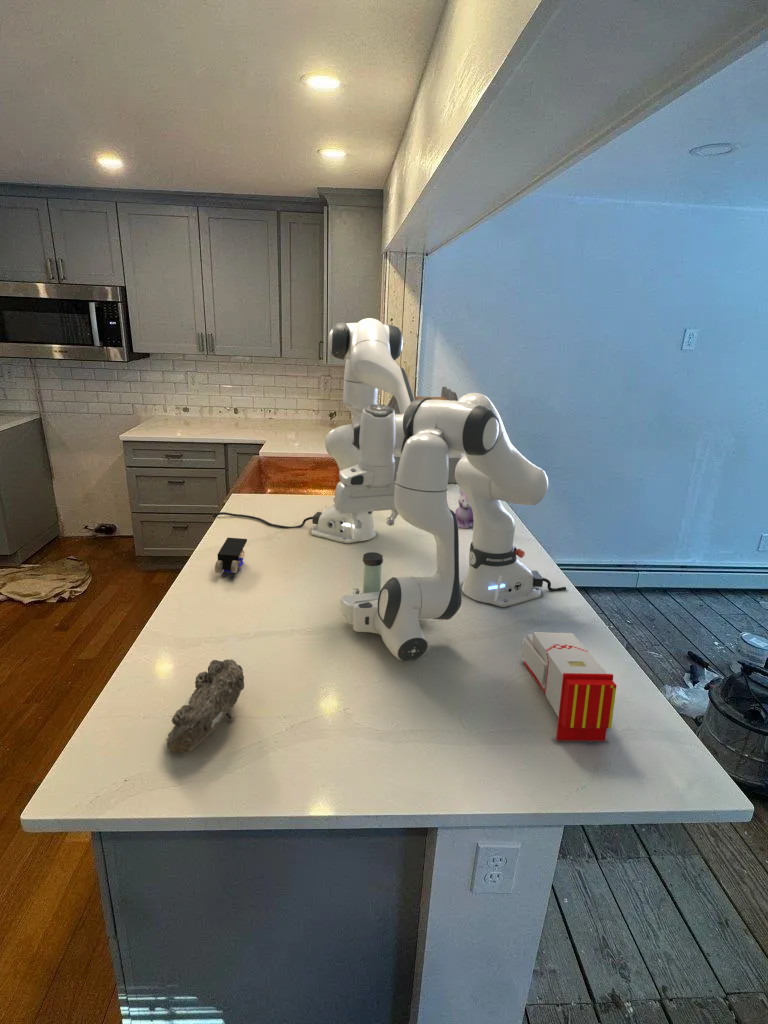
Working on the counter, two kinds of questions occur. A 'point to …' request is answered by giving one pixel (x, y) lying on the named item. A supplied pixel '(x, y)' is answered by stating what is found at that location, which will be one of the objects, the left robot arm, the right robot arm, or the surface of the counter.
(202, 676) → the fossil
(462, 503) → the figurine
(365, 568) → the jar
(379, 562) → the lid
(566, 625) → the counter surface
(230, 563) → the figurine character
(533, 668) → the toy
